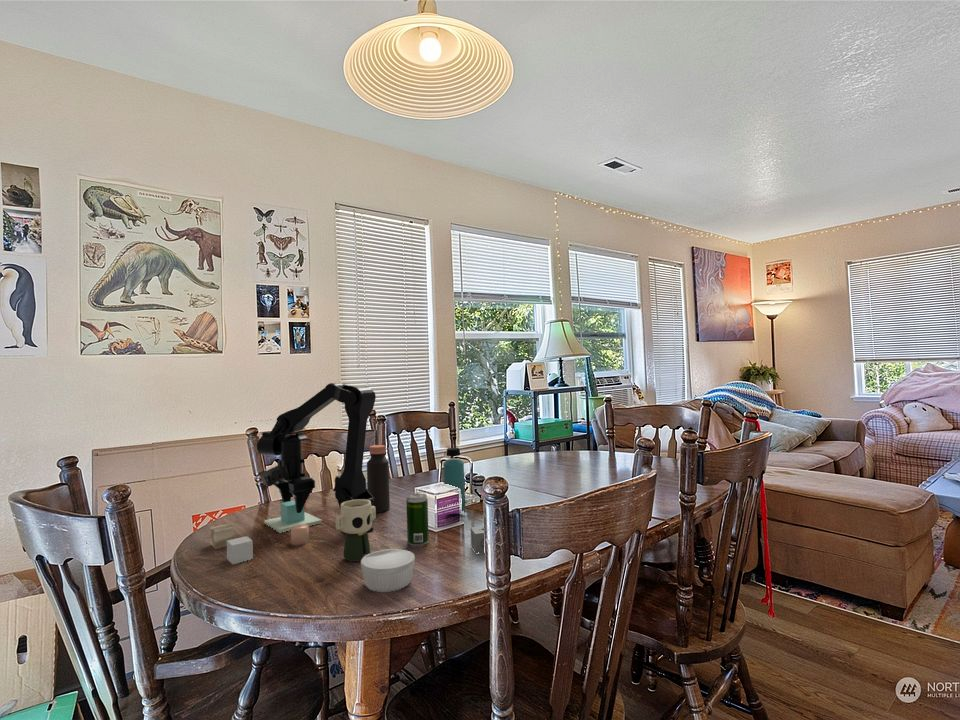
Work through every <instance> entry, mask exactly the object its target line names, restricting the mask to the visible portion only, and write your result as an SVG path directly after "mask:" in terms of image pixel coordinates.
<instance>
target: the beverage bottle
mask: <svg viewBox="0 0 960 720" xmlns="http://www.w3.org/2000/svg"><path fill="white" fill-rule="evenodd" d="M445 453H446V456H447V457H459V456H461V450H460V448H459V447H449V448H447V449H446V452H445ZM442 464H443V485H444V484H449V485H452V486H455V487H458V488H460V489H461V494H462V512H465V510H466V504H467V503H466V490H465V487H466V486H465V478H466V475H465V462H464V461H463V460H462V459H461V458H447V459H446V460H445V461H444V462H443V463H442Z"/></svg>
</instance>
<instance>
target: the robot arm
mask: <svg viewBox="0 0 960 720" xmlns="http://www.w3.org/2000/svg"><path fill="white" fill-rule="evenodd" d="M376 397H377V396H376V392H375V391H374V389H372V387H369V386H354V385H348V384H344V383H341V382H332V383H331V382H330V383H328V384H327V385H326V386H325V387H324V388H323V389H321V390H320V391H318V392H317V393H316V394H315V395H313V396H312V397H311V398H309V399H308V400H306V401H305V402H304V403H302V404H300V406H298V407H295V408H294V409H290V410H287V411H285V412H284V413H280V414H279V415H278V416H277V418H276V422H275V424H274V425H273V427H272V429H271V431H263V432H261V437H259V439H258V441H257V443H256V450H257V452H258V454H261V455H263V456H264V455H265V456H280V459H278V461H277V465H275V466H274V467H271V468H269V469H267V470H266V471H264V472H262V473H260V474H259V477H260V479H261V482H262V483H263V486H266V487H271V486H274V487H276V488H277V489H278V491H279V494H280V497H281V499H282V503H284V502H289V501H292V500H291V499H292V496H293V498H294V500H295V505H296V511H297V513H301V511H302V509H303V507H304V508H305V505H306V502H307V500H308V498H309V496H310V494H311V492H312V491H314V489H315V488H316V481H315V479H314V478H312V477H310V476H306V473H305V472H303V463H305V462H306V461H305V460H306V459H305V458H303V454H302V453H303V447H302V443H303V441H308V440H309V437H307V436H306V435H305V434H304V433H303V430H304V429H305V427H307V426H308V424H309V423H310V421H311V419H312V417H314V416H315V415H317V414H318V413H319V412H320V411H322V410H324V409H325V408H326V407H327V406H329V405H330V404H332V403H333V402H334V401H337V402H339V403H342V404H344V410H345V412H346V415H347V417H348V423H347V424H348V427H347V435H346V436H347V437H346V446H345V455H344V465H343V471H342V473H341V474H339V475H336V476H335V478H334V488H333V492H334V496H335V497H334V498H335V499H336V500H337V503H338V506H339V509H340V511H341V503H343V502H346V501H349V500H357V499H364V500H369V501H371V505H373V502H374V499H375V498H374V497H373V496H372V494H371V493H370V492H369V491H368V490H367V478H366V477H365V474H364V472H363V463H364V454H365V443H366V434H367V422H368V419H369V417H370V415H371V414H372V411H373V410H374V407H375V406H374V405H375V402H376V399H377V398H376ZM295 433H296V434H295ZM374 529H375V528H374V527H371V528H370V529H369V530H368V531H367V533H369V532H373V531H374Z"/></svg>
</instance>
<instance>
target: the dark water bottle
mask: <svg viewBox="0 0 960 720" xmlns="http://www.w3.org/2000/svg"><path fill="white" fill-rule="evenodd" d="M385 455H386V445H385V444H373V445H370V446H369V456H370V458H369V459H368V461H367V462H366V488H367V490H368V491H369V492H370V493H371V494H372V496H373V497H374V498H375V499H374V502H373V505H371V506H375V508H376V513H383V512H386V511H388V510H390V508H391V507H390V505H391V502H390V501H391V500H390V467H389V466H390V465H389V463H390V462H389V460H388V459H387V458H386V457H385Z"/></svg>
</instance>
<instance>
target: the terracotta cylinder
mask: <svg viewBox="0 0 960 720" xmlns="http://www.w3.org/2000/svg"><path fill="white" fill-rule="evenodd" d="M309 527H310V526H308V525H306V524H300V525H295V526H292V527H291V531H290V544H291V546H302V544H303V545H306V544H308V543H309V542H310V537H309V536H310V533H309V532H310V531H309ZM307 542H308V543H307ZM305 543H306V544H305Z"/></svg>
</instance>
